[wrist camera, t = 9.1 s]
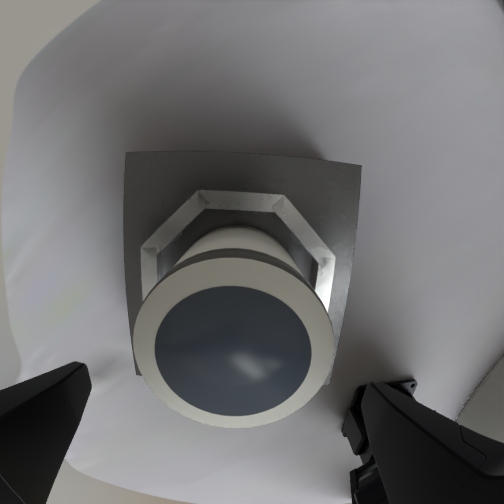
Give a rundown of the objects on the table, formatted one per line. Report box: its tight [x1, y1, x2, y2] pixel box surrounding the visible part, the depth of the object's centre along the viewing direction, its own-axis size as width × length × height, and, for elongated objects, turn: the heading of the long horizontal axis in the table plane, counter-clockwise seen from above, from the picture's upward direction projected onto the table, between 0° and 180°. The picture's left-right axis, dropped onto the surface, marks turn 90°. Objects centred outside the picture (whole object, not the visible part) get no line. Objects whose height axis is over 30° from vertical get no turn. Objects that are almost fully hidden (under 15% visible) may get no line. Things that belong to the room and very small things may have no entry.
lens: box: [133, 225, 334, 428], centre depth 11 cm, size 6×6×7 cm
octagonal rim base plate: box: [124, 151, 362, 385], centre depth 17 cm, size 12×13×6 cm
